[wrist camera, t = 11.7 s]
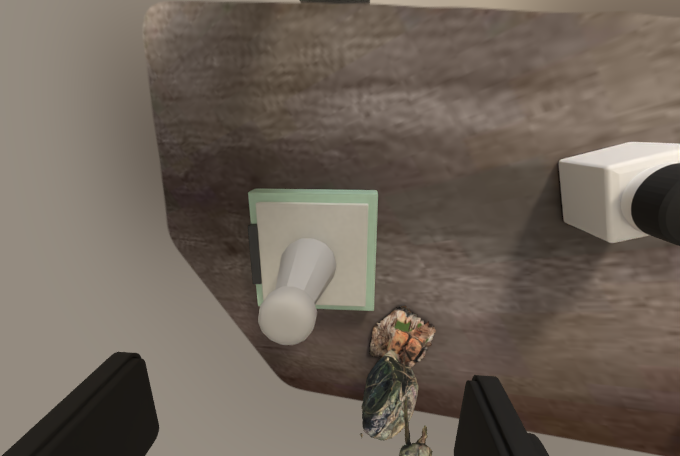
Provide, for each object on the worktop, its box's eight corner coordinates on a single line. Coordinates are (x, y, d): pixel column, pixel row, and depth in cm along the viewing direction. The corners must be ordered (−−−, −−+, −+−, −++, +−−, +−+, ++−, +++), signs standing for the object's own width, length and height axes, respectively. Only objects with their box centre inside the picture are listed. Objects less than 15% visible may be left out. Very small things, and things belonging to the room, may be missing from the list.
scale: (255, 188, 36) (244, 194, 33) (377, 190, 35) (378, 196, 32) (263, 296, 40) (255, 310, 37) (373, 300, 39) (374, 315, 36)
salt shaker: (288, 280, 36) (247, 358, 24) (283, 232, 34) (237, 289, 22) (339, 280, 35) (325, 360, 23) (337, 231, 34) (321, 290, 21)
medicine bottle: (562, 222, 35) (659, 267, 23) (556, 159, 33) (659, 174, 22) (632, 207, 34) (770, 245, 22) (631, 140, 32) (779, 146, 21)
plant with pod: (342, 348, 42) (323, 530, 23) (405, 295, 39) (444, 453, 20) (385, 384, 43) (401, 586, 24) (449, 336, 40) (526, 522, 21)
